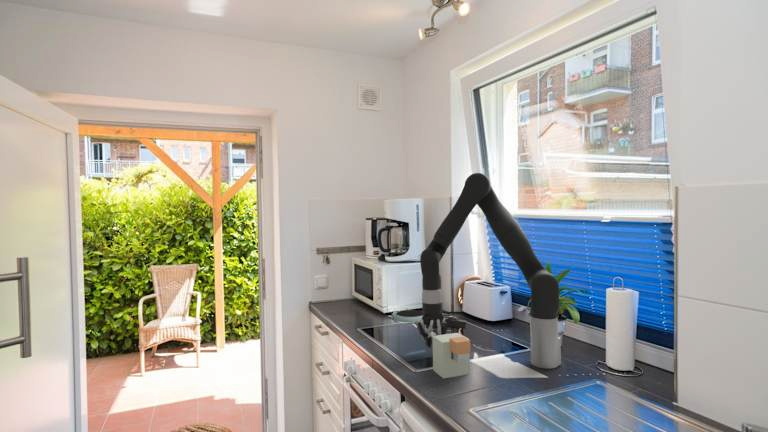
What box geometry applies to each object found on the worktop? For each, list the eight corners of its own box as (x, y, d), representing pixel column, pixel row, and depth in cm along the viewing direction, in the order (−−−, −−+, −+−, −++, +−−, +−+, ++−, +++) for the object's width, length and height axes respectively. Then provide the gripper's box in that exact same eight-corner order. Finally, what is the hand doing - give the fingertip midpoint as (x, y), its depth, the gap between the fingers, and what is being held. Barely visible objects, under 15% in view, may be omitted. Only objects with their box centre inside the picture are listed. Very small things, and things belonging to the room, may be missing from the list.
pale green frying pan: (409, 303, 240) (434, 313, 218) (409, 310, 240) (434, 320, 218) (381, 307, 233) (403, 317, 210) (381, 314, 233) (404, 325, 210)
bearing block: (458, 366, 154) (457, 332, 154) (469, 374, 146) (469, 339, 146) (433, 370, 151) (432, 336, 151) (443, 378, 143) (442, 342, 143)
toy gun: (456, 330, 190) (468, 318, 203) (414, 322, 201) (428, 312, 214) (456, 340, 191) (468, 328, 204) (414, 332, 202) (428, 321, 214)
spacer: (462, 348, 145) (462, 336, 145) (470, 353, 141) (470, 340, 141) (449, 350, 144) (449, 338, 144) (456, 355, 139) (456, 342, 139)
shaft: (431, 339, 168) (431, 328, 168) (468, 363, 142) (468, 350, 142) (421, 340, 167) (421, 329, 167) (456, 365, 140) (456, 351, 140)
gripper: (419, 304, 156) (420, 352, 156) (453, 300, 160) (455, 347, 161) (411, 300, 163) (412, 346, 163) (444, 297, 167) (445, 341, 168)
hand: (433, 346), depth 162 cm, fingers closed on shaft, 3 cm apart
